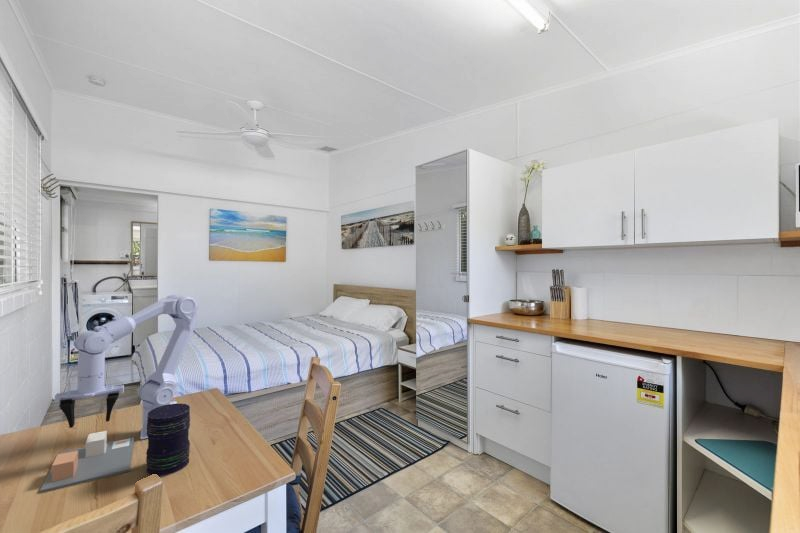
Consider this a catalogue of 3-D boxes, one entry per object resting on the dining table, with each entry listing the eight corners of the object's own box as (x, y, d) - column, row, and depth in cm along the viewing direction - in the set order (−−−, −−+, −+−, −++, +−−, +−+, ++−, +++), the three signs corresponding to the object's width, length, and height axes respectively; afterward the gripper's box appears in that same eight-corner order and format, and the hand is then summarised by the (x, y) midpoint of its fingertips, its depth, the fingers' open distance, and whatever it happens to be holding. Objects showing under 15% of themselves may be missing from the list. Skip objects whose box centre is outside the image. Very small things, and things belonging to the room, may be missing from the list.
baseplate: (134, 439, 111) (134, 436, 111) (129, 471, 94) (129, 468, 94) (59, 454, 102) (59, 451, 102) (39, 493, 85) (39, 490, 85)
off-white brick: (106, 444, 106) (106, 430, 106) (104, 453, 101) (104, 439, 101) (89, 447, 104) (89, 433, 104) (85, 457, 99) (85, 442, 99)
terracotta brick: (78, 465, 95) (78, 450, 95) (73, 476, 90) (73, 461, 90) (57, 469, 93) (57, 454, 93) (51, 482, 88) (51, 465, 88)
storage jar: (142, 480, 91) (143, 421, 91) (149, 460, 99) (149, 406, 99) (188, 470, 95) (189, 414, 95) (190, 452, 104) (191, 401, 104)
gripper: (51, 382, 93) (50, 435, 93) (122, 374, 101) (121, 422, 101) (58, 375, 99) (57, 424, 99) (125, 368, 107) (124, 413, 107)
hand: (90, 423), depth 100 cm, fingers open, 7 cm apart
